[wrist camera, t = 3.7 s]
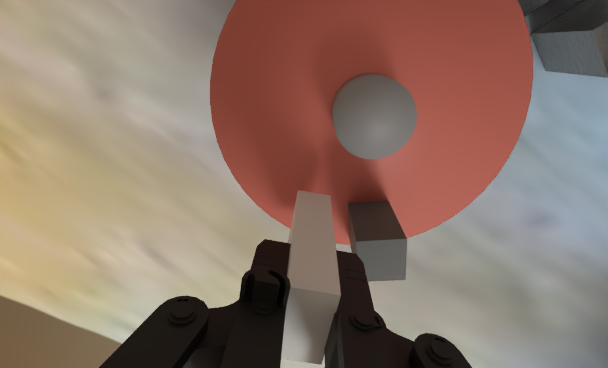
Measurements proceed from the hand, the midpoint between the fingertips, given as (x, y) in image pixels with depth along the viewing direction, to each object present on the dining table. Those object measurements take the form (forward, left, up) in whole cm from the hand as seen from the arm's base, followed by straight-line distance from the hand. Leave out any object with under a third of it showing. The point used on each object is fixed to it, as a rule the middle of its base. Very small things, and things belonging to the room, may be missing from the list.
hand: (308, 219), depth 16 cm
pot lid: (+3, -5, -3) cm, 6 cm away
